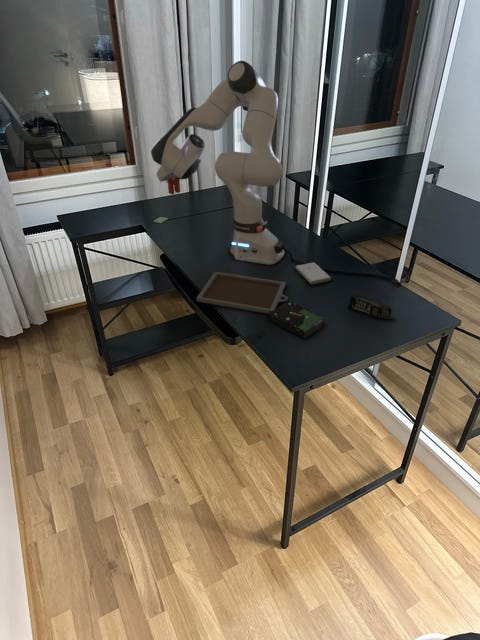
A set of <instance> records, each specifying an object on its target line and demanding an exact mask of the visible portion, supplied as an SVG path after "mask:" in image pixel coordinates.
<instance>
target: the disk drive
mask: <svg viewBox="0 0 480 640" xmlns="http://www.w3.org/2000/svg"><path fill="white" fill-rule="evenodd" d="M268 319H269V320H270V321H272V322H273V323H275V324H277V325H279V326H281V327H283V328H285V329H287V330H289V331H291V332H292V333H294V334H296V335H298V336H300V337H302V338H305V339H306V338H307V337H309V336H310V335H312V334H313V333H314V332H316V331H318V329H320V328H321V327H323V326H324V324H325V318H323V316H320V315H319V314H317V313H315V312H313V311H311V310H309V309H307V308H304V307H303V306H300V305H299V304H296V303H295V302H293V301H290V300H287V301H285V302H283V304H281V305H279V306H277V308H276V310H275V311H274V310H273V311H271V312H270V313H269V314H268Z"/></svg>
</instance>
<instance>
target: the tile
mask: <svg viewBox="0 0 480 640" xmlns="http://www.w3.org/2000/svg"><path fill="white" fill-rule="evenodd" d="M167 220H169V217H164V216H159V217H158V218H156V219H153V220H152V222H153V223H157V224H162V223H164V222H166V221H167Z"/></svg>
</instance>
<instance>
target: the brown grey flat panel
mask: <svg viewBox="0 0 480 640" xmlns="http://www.w3.org/2000/svg"><path fill="white" fill-rule="evenodd" d="M286 286H287V282H284V281H279V280H275V279H274V280H273V279H267V278H259V277H253V276H249V275H241V274H234V273H228V272H221V271H214V272H213V273H212V275H211V276H210V278H209V279H208V281H207V282H206V283H205V285H204V286H203V287H202V288H201V291H200V292H199V293H198V295H197V296H196V299H195V301H196V302H197V303H202V304H203V303H204V304H209V305H215V306H220V307H226V308H232V309H238V310H244V311H250V312H255V313H261V314H266V315H269V313H270V312H271V311H273V310H274V311H275V310H276V309H277V308H278V305H279V304H281V303H286V302H287V301H289V298H288V296H286V295H285V294H284V291H285V288H286Z"/></svg>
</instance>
